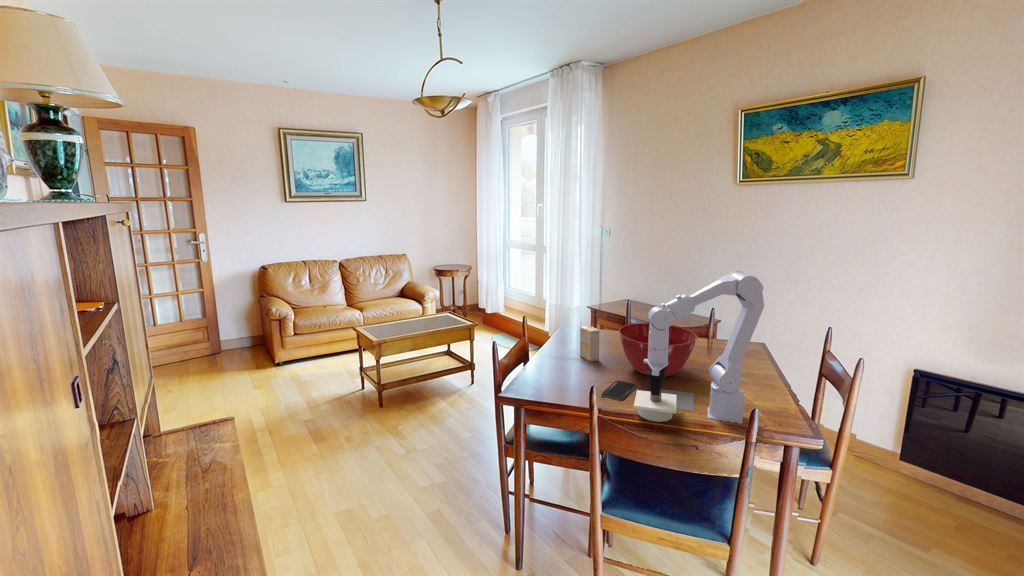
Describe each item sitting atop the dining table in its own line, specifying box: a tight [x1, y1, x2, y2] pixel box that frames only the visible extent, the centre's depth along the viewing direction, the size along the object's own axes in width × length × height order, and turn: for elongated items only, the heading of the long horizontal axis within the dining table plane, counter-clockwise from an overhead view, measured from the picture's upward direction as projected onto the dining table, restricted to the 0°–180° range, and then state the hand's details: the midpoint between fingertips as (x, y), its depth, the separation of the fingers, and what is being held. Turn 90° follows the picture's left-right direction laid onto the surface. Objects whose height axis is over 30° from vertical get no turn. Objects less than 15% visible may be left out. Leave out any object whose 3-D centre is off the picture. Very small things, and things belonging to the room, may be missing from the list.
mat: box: [649, 388, 695, 412], centre depth 154 cm, size 14×14×1 cm
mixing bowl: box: [618, 322, 698, 377], centre depth 178 cm, size 28×28×15 cm
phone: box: [601, 380, 638, 402], centre depth 161 cm, size 8×1×15 cm
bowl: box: [637, 409, 674, 423], centre depth 143 cm, size 10×10×4 cm
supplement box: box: [579, 325, 601, 363], centre depth 194 cm, size 8×5×13 cm, turn 22°
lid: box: [633, 389, 677, 415], centre depth 143 cm, size 12×12×4 cm
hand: (656, 389), depth 142 cm, fingers open, 7 cm apart
